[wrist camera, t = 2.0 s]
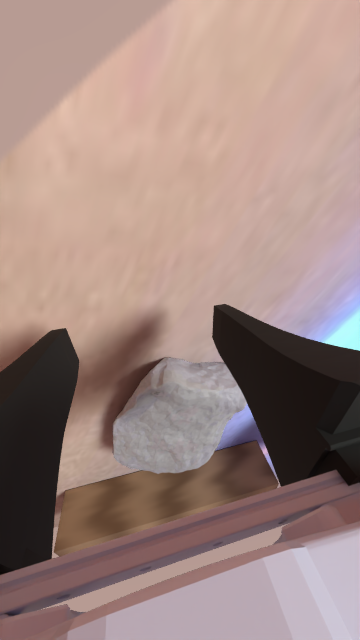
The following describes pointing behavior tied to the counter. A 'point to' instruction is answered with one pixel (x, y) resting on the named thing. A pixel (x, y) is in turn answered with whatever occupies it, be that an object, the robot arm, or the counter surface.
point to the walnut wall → (159, 497)
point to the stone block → (176, 416)
